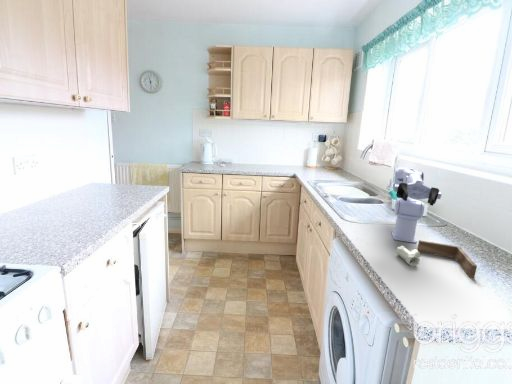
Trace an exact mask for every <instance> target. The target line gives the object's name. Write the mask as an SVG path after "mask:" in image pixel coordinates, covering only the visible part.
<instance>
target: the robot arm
mask: <svg viewBox="0 0 512 384" xmlns="http://www.w3.org/2000/svg"><path fill="white" fill-rule="evenodd" d="M424 179H425V174H424V172H423V171H422V172H419V171H418V170H416V169H415V168H410V169H396V170H395V173H394V179H393V181H394V182H393V183H394V187H393V192H396V200H395V201H394V203H395V204H394V208H393V209H394V210H393V211H394V212H393V213H394V215H395V216H396V220H395V224H394V230H392V231H391V235H392V238H393V240H394V241H401V242H406V243H414V244H416V243H417V240H416V238H415V234H416V230H417V225H418V221H419V219H421V218H423V216H424V212H425V204H424V202H422V200H425V199H427V202H426V203H427V204H429V206H432V207H433V206H434V205H435V204H436V202H437V200H441V198H442V195H443V193H442V192H441V191H440V189H439V188H437V187H433V186H431V187H429V186H427V185H425V184H424Z"/></svg>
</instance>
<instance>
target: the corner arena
mask: <svg viewBox="0 0 512 384" xmlns="http://www.w3.org/2000/svg"><path fill="white" fill-rule="evenodd" d="M417 244H418V245H417V249H416V250H418V251H419V253H424V254H429V255H435V256H440V257H446V258H453V259H455V261H456V262H457V263H458V264H459V266H460V267H461V269H462V270H463V271H464V272H465V274H466V275H467V277H469V278H471V279H475V278H476V277H475V276H476V273H477V267H478V265H477V264H476V263H475V262H474V261H473V260H472V259H471V257H469V255H468V254H467V253H466V252H465V250H464V249H463V248H462V247H461V246H458V245H453V244H447V243H446V244H445V243H438V242H434V241H427V240H420V239H419V240H418V243H417Z"/></svg>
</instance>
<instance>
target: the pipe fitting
mask: <svg viewBox="0 0 512 384" xmlns="http://www.w3.org/2000/svg"><path fill="white" fill-rule="evenodd" d="M395 253H396V255H398V256H399V257H400V258H401V259H403V260H404V261H405V262H406V263H407V264H408V265H409V266H411V267H416V266H418V265H419V264H420V258H421V252H419V251H418V250H417V249H411V250H409V249H408V248H406V247H405V246H404V245H400V246H398V247H397V248H396V251H395Z"/></svg>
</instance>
